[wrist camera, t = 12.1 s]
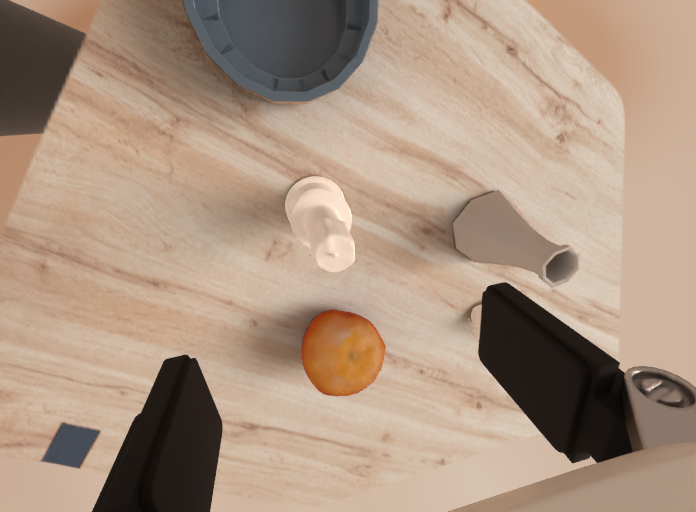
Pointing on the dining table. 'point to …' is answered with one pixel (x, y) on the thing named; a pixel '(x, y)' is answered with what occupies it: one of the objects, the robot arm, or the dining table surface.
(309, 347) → the fruit
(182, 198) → the dining table surface
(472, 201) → the flask
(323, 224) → the candle
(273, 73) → the bowl
